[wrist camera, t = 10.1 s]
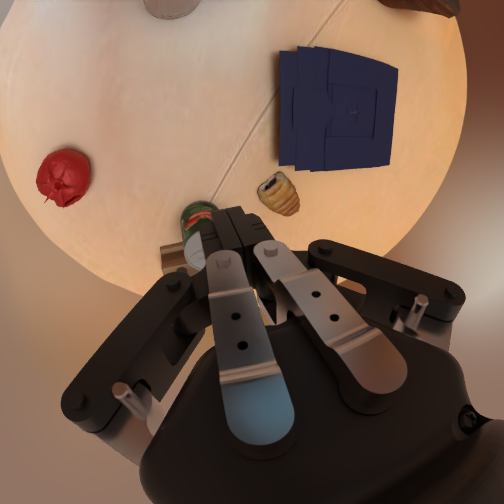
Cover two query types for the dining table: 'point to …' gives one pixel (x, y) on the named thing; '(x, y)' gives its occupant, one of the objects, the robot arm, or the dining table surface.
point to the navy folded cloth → (335, 110)
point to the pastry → (279, 195)
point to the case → (427, 6)
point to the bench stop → (175, 260)
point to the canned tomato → (195, 231)
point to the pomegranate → (64, 177)
